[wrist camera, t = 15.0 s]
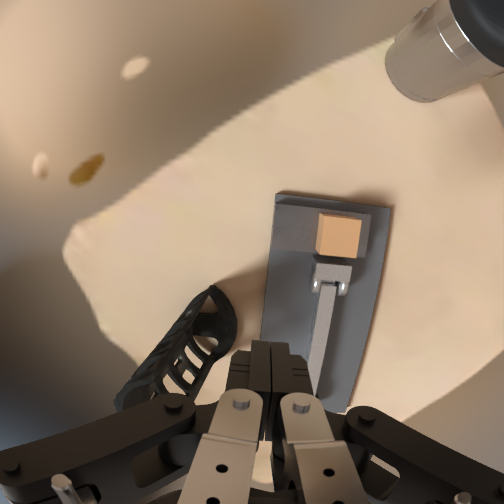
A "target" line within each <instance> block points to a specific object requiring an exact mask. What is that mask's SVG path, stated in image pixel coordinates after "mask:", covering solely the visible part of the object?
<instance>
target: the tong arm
mask: <svg viewBox="0 0 504 504" xmlns="http://www.w3.org/2000/svg"><path fill="white" fill-rule="evenodd" d="M336 288H337V286H336V285H335V284H325V283H321V287H320V291H319V293H318V300H317V306H316V312H315V318H314V324H313V330H312V336H311V341H310V347H309V352H308V358H307V365H308V371H309V374H310V379H311V384H312V388H313V393H314V397H316V398H317V399H319V396H318V394H316V390H317V385H318V381H319V376H320V372H321V367H322V363H323V358H324V353H325V348H326V343H327V338H328V333H329V328H330V322H331V317H332V311H333V306H334V300H335V294H336Z"/></svg>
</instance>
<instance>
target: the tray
mask: <svg viewBox="0 0 504 504" xmlns="http://www.w3.org/2000/svg"><path fill="white" fill-rule="evenodd" d="M275 203H282V204H292V205H301V206H310V207H318V208H327V209H335V210H343V211H351V212H358V213H366V214H370V215H371V221H370V229H369V236H368V242H367V249H366V255H365V258H361V257H356V258H349V257H339V256H329V255H319V253H311V252H301V251H291V250H281V249H271V245H270V254H269V264H268V273H267V282H266V292H265V301H264V310H263V318H262V327H261V336H260V341H269V342H271V341H272V342H286V343H289V350H290V354H292V355H301V356H302V357H303V358H304V359H305V354H306V349H307V344H308V338H309V333H310V327H311V321H312V316H313V310H314V304H315V297H316V294H314V293H310V290H309V281H310V273H311V271H310V270H311V263H312V256H318V257H328V258H338V259H345V260H346V261H347V262H348V263H349V264H350V265H351V266H352V271H351V277H350V282H349V288H348V291H347V294H346V295H345V296H339V295H337V294H335V300H334V306H333V311H332V317H331V322H330V328H329V333H328V338H327V343H326V348H325V353H324V358H323V363H322V367H321V372H320V376H319V381H318V385H317V393H316V394H318V396H319V400H320V402H321V403H322V406H323V409H325V410H327V411H329V412H332V413H345V411H346V408H347V405H348V402H349V399H350V396H351V393H352V389H353V386H354V383H355V379H356V376H357V373H358V369H359V366H360V362H361V358H362V355H363V351H364V347H365V343H366V339H367V335H368V331H369V327H370V323H371V318H372V314H373V310H374V305H375V300H376V296H377V291H378V286H379V281H380V276H381V270H382V265H383V259H384V253H385V247H386V241H387V234H388V227H389V220H390V213H391V209H390V208H385V207H378V206H371V205H364V204H357V203H350V202H342V201H335V200H327V199H319V198H310V197H301V196H292V195H283V194H276V195H275ZM274 208H275V205H274ZM273 218H274V215H273ZM272 228H273V225H272ZM271 238H272V235H271ZM335 282H336V281H335ZM335 282H334V284H335Z"/></svg>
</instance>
